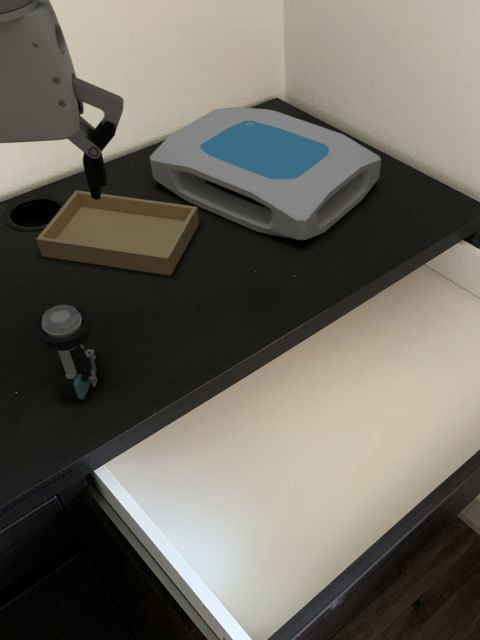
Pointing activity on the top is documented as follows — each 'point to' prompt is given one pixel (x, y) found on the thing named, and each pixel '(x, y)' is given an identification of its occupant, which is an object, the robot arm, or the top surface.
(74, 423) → the top surface
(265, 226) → the grey rounded box
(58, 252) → the tray
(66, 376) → the push button
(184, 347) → the top surface
